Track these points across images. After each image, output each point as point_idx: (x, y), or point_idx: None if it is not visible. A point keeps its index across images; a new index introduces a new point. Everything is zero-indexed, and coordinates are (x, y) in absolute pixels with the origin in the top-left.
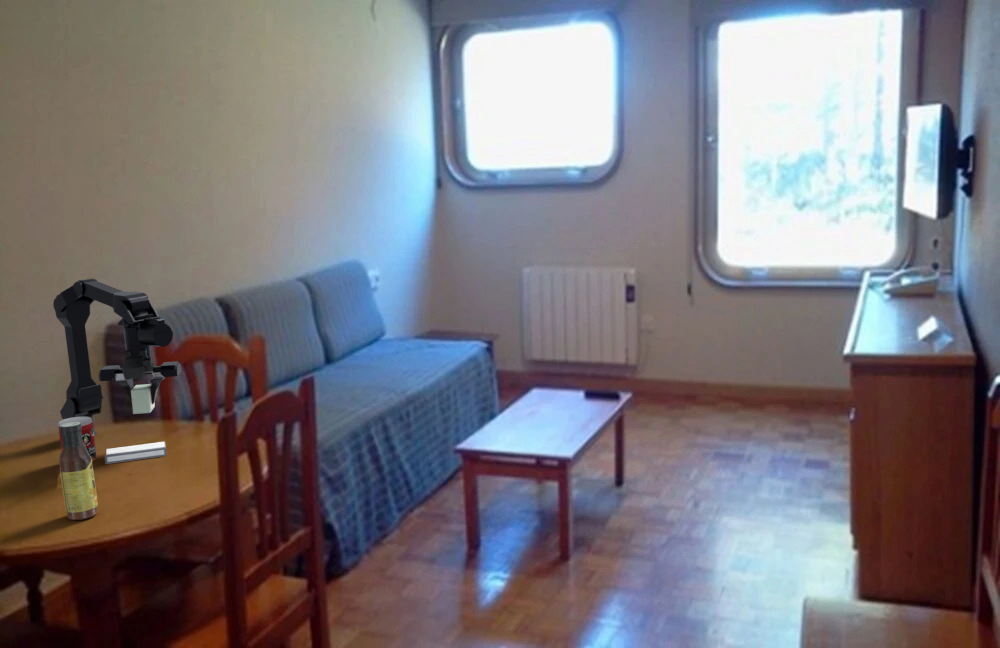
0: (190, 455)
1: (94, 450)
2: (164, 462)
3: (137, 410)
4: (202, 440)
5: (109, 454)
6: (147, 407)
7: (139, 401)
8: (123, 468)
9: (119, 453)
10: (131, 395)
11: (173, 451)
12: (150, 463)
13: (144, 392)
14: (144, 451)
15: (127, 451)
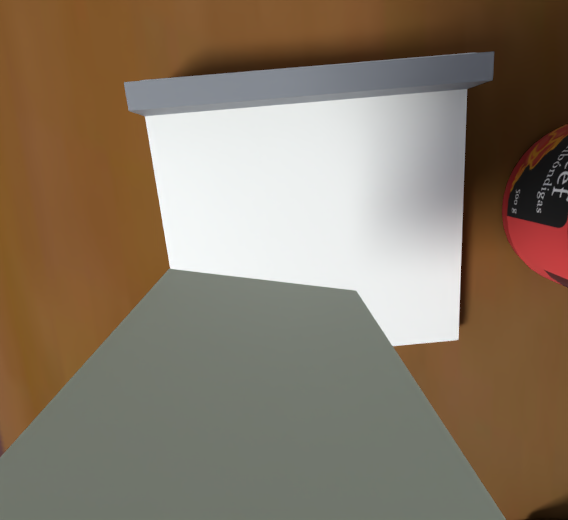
0: (27, 124)
1: (548, 185)
2: (155, 41)
3: (310, 297)
4: (14, 370)
5: (465, 75)
6: (176, 295)
7: (277, 349)
8: (368, 17)
9: (407, 70)
10: (456, 452)
11: (134, 236)
12: (231, 55)
13: (106, 461)
14: (257, 72)
15: (359, 259)
